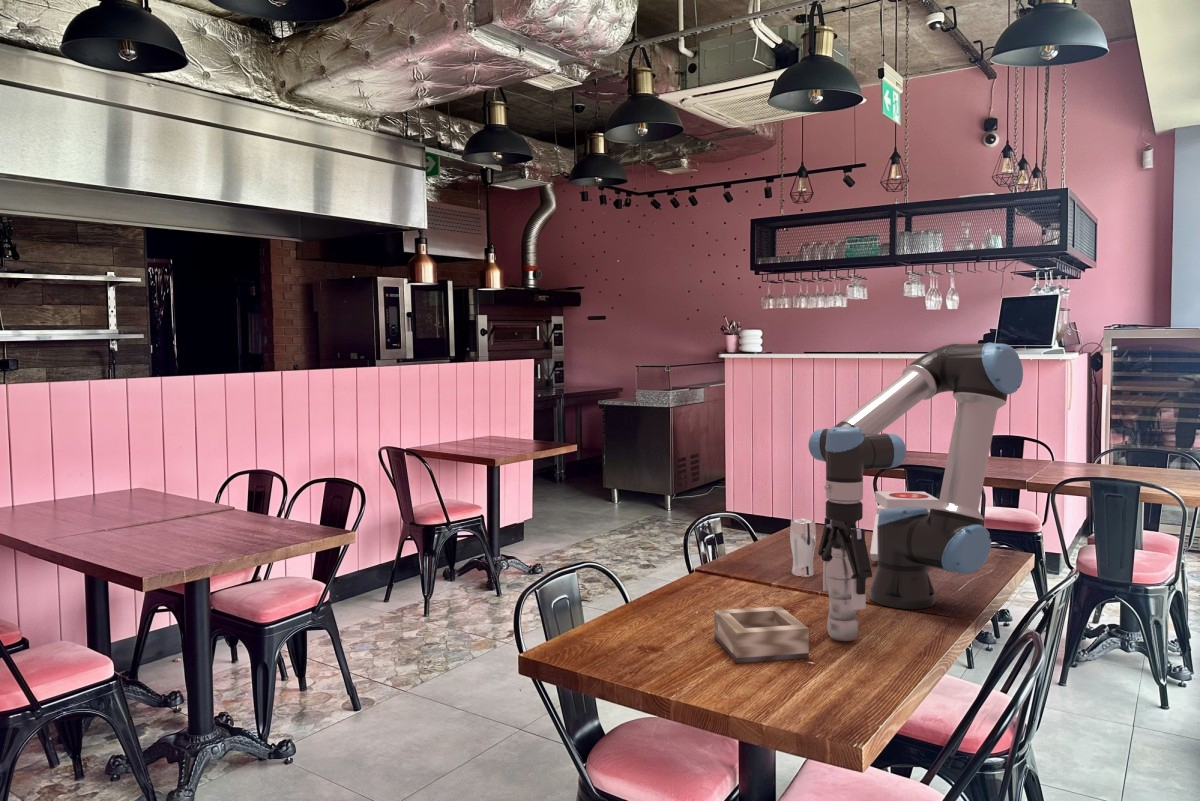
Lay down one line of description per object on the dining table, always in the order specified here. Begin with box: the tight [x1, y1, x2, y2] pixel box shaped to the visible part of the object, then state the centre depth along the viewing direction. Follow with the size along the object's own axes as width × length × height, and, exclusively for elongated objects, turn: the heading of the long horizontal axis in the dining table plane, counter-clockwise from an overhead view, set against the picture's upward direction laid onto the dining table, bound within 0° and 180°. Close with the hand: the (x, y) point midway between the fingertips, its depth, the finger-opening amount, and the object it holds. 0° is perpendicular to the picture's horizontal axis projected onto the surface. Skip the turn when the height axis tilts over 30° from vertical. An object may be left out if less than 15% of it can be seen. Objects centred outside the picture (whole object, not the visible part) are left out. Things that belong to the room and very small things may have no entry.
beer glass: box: [789, 518, 817, 578], centre depth 229 cm, size 7×7×15 cm
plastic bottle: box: [826, 545, 860, 642], centre depth 175 cm, size 6×7×20 cm
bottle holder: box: [713, 605, 810, 664], centre depth 172 cm, size 15×15×6 cm
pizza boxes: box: [869, 490, 939, 562], centre depth 246 cm, size 19×30×18 cm, turn 154°
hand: (843, 599), depth 175 cm, fingers open, 13 cm apart
